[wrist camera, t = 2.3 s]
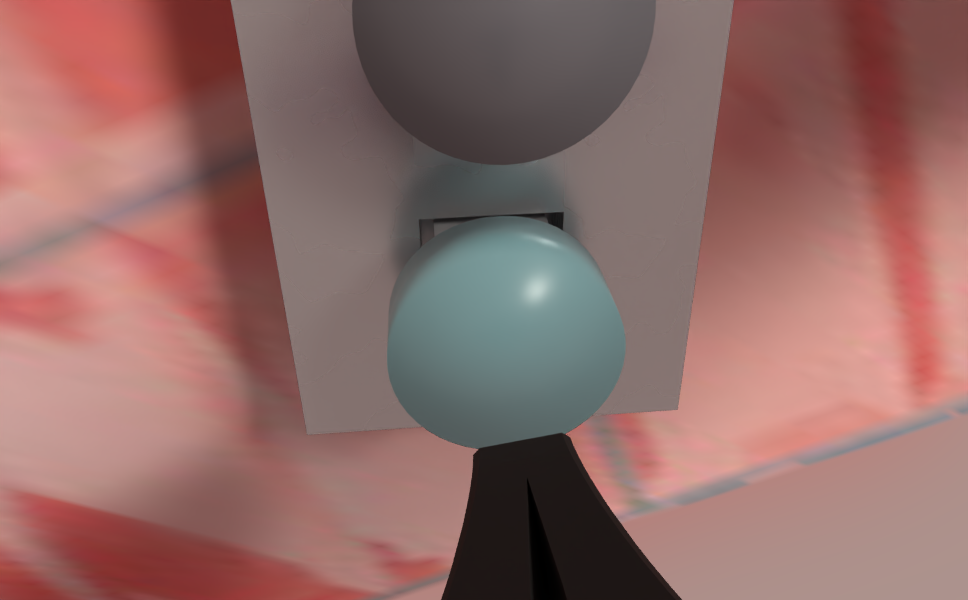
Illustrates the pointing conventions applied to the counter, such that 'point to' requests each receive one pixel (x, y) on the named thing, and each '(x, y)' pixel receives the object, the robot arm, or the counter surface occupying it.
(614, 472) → the counter surface
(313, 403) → the panel
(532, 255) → the button teal
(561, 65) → the button charcoal
